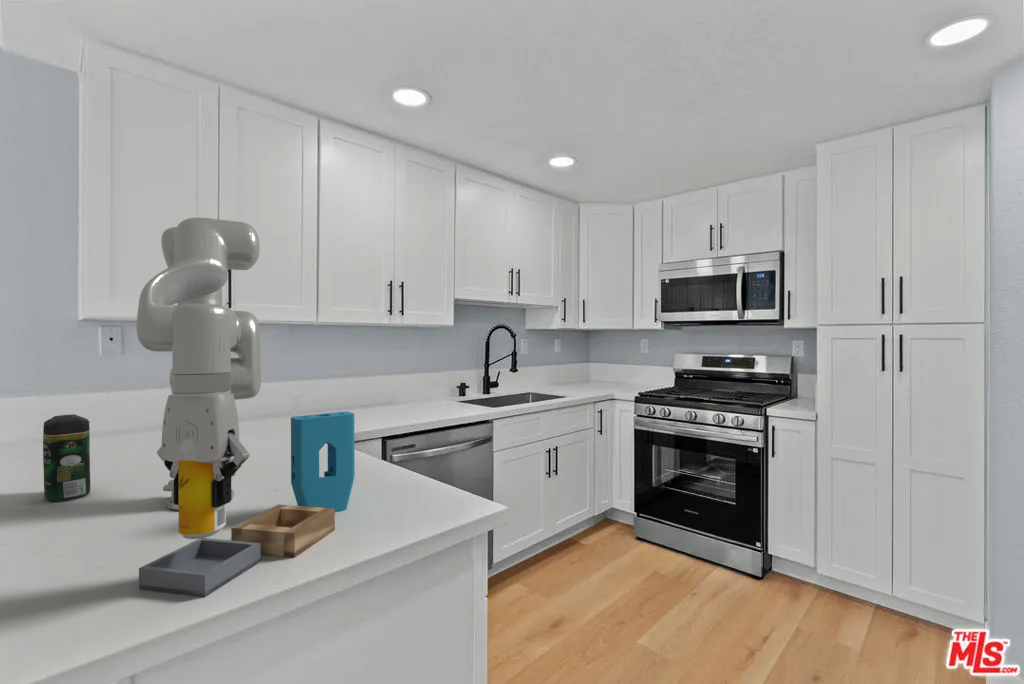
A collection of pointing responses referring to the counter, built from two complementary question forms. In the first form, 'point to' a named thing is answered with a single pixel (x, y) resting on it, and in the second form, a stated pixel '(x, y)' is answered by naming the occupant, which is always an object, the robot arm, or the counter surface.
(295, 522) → the shallow wooden box
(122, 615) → the counter surface
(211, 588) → the tray
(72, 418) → the coffee jar
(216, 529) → the beer can
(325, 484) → the block
